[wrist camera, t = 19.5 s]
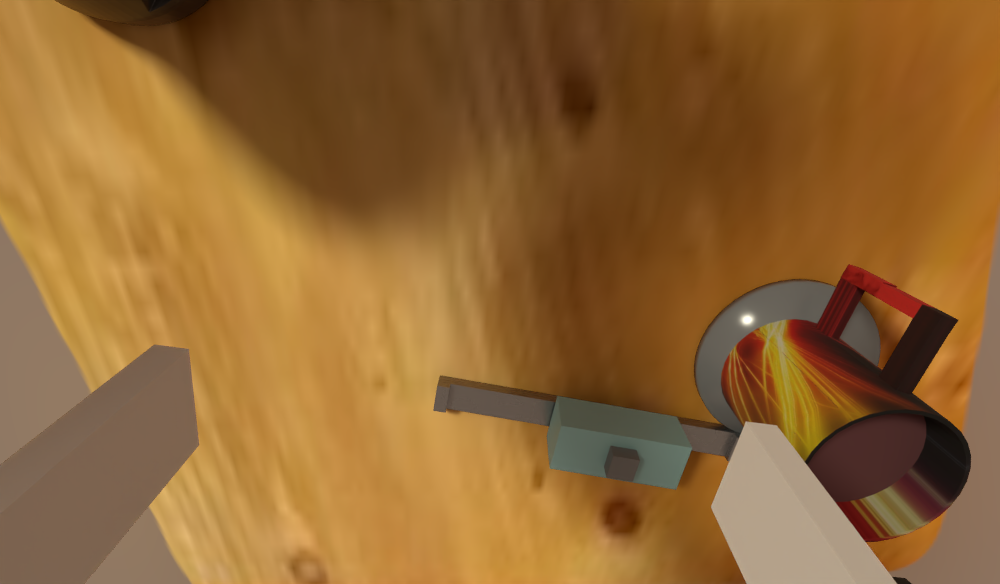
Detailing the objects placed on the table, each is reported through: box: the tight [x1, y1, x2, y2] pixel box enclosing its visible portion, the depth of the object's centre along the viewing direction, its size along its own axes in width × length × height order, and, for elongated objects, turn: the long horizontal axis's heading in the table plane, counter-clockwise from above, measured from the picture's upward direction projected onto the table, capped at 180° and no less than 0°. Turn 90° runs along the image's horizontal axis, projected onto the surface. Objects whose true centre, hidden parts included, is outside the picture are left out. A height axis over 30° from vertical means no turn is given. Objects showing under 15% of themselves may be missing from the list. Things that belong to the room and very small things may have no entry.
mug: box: [721, 264, 971, 542], centre depth 35 cm, size 10×14×12 cm
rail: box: [433, 376, 741, 461], centre depth 43 cm, size 2×26×2 cm, turn 80°
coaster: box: [694, 279, 880, 433], centre depth 41 cm, size 14×14×1 cm
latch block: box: [547, 396, 692, 490], centre depth 40 cm, size 4×10×5 cm, turn 80°
